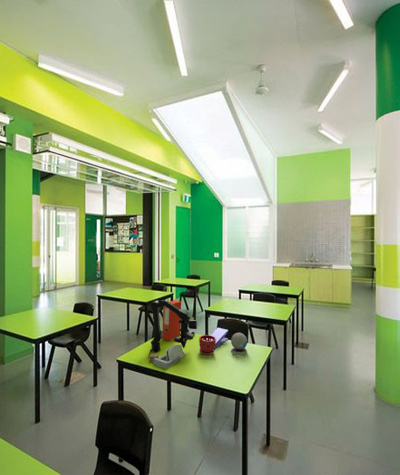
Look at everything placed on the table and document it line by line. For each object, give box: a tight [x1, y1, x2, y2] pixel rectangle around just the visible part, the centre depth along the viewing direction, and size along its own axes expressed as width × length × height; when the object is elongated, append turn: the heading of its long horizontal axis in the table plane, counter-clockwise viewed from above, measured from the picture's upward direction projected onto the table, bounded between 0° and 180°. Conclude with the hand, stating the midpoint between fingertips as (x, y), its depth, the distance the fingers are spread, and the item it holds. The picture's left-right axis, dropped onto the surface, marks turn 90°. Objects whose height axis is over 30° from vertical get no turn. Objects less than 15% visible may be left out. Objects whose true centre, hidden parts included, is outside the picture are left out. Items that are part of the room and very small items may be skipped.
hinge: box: [165, 344, 186, 362], centre depth 207 cm, size 17×5×10 cm, turn 147°
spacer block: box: [148, 352, 160, 363], centre depth 201 cm, size 5×5×4 cm
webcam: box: [230, 332, 248, 356], centre depth 221 cm, size 13×13×15 cm
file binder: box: [161, 299, 182, 342], centre depth 249 cm, size 8×17×32 cm, turn 150°
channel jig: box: [153, 353, 181, 370], centre depth 198 cm, size 11×16×4 cm
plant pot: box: [198, 334, 216, 356], centre depth 217 cm, size 13×13×12 cm
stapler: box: [207, 327, 229, 350], centre depth 237 cm, size 12×28×10 cm, turn 148°
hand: (183, 347), depth 216 cm, fingers closed
